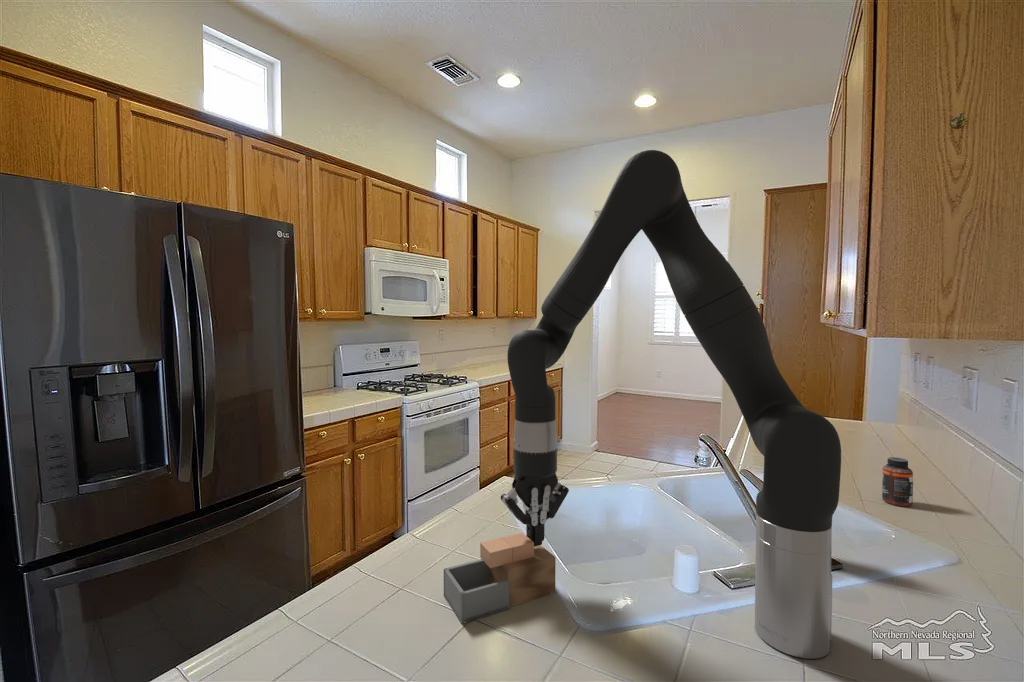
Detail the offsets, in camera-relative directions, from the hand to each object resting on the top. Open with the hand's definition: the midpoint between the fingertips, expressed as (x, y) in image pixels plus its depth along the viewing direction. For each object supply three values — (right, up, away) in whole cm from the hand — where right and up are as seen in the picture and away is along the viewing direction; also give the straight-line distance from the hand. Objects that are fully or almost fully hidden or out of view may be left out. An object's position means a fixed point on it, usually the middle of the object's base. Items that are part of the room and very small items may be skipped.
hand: (535, 543), depth 79 cm
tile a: (-3, -1, -2) cm, 4 cm away
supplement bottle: (+94, -6, +37) cm, 101 cm away
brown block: (-3, -7, -1) cm, 8 cm away
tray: (-10, -7, -5) cm, 13 cm away
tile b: (-7, -1, -4) cm, 8 cm away
